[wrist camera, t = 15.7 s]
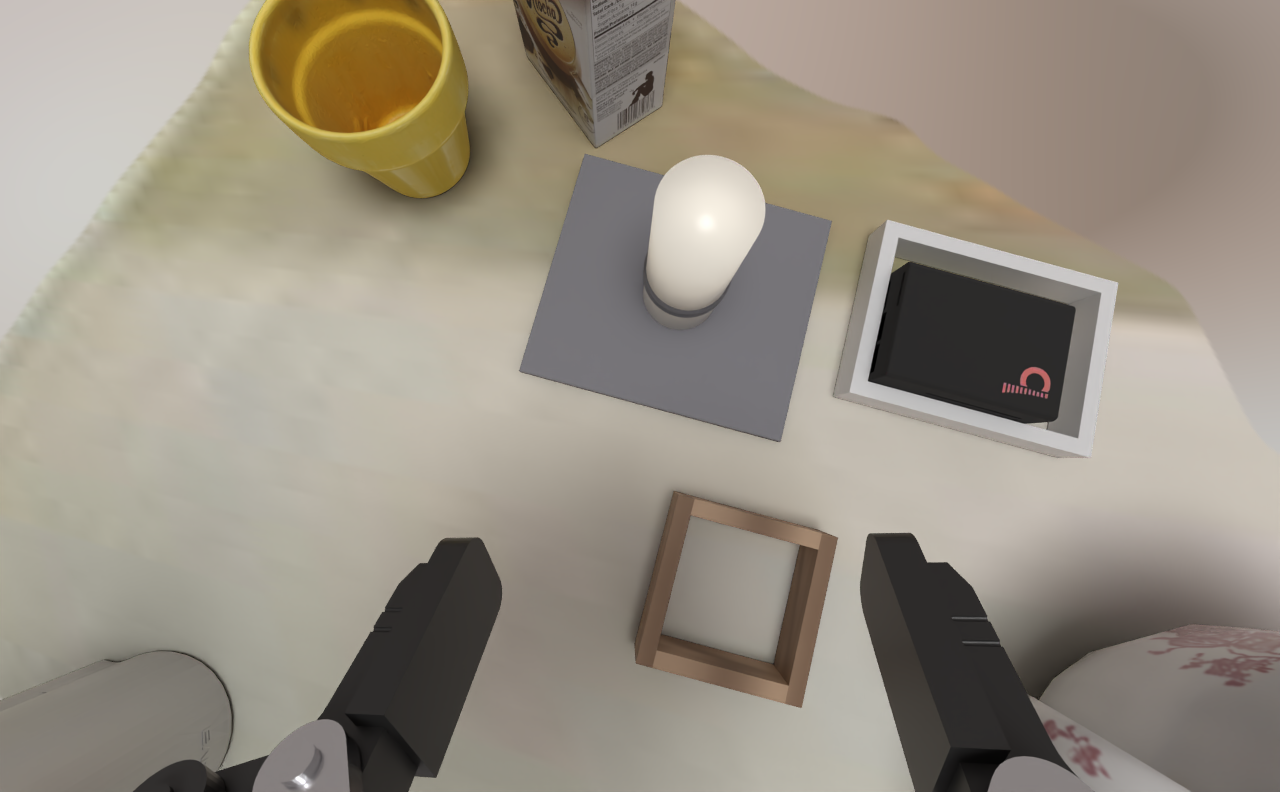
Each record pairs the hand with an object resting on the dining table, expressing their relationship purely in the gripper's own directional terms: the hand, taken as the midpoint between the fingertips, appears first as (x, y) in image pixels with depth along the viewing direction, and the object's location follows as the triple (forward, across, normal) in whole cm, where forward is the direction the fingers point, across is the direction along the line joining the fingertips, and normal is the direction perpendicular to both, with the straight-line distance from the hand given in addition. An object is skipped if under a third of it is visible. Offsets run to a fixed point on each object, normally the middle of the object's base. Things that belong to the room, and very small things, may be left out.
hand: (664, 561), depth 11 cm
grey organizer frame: (+27, -18, +10) cm, 34 cm away
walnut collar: (+14, -1, +20) cm, 24 cm away
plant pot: (+30, +18, -6) cm, 36 cm away
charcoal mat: (+26, +1, +5) cm, 27 cm away
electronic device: (+26, -16, +11) cm, 33 cm away
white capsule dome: (+26, +1, +4) cm, 26 cm away
